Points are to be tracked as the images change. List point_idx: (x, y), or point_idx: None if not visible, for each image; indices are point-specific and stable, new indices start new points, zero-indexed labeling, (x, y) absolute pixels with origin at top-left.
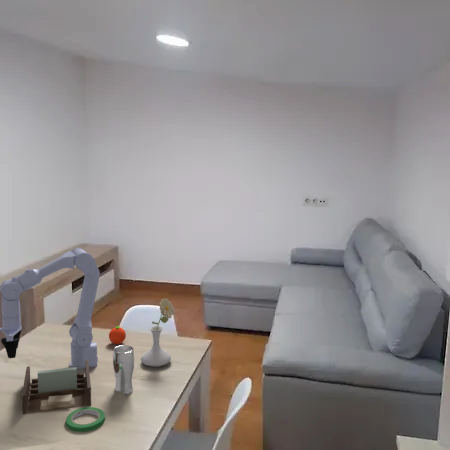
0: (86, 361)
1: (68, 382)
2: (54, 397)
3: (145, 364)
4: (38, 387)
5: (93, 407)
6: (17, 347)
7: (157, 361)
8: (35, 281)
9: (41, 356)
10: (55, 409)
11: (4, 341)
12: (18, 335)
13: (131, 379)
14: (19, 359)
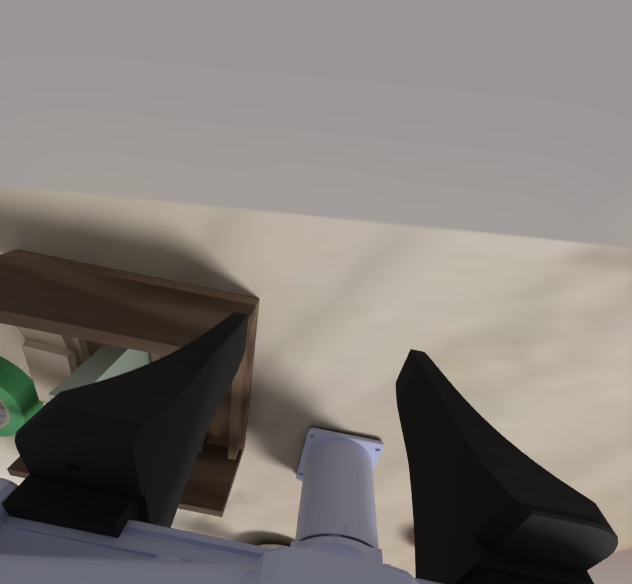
0: (214, 512)
1: None
2: (58, 368)
3: (262, 545)
4: (104, 345)
5: (21, 426)
6: (396, 391)
7: None
8: None
9: (517, 385)
10: None
11: (28, 441)
12: (416, 504)
13: None
14: (560, 310)
